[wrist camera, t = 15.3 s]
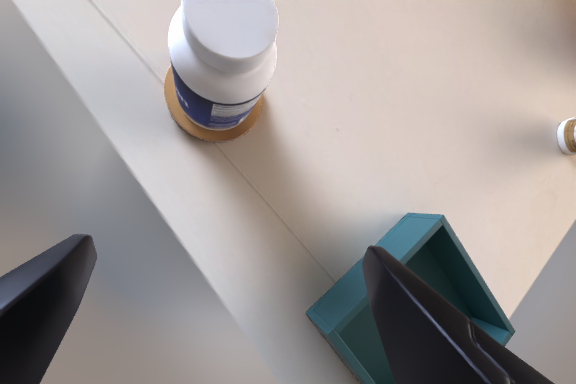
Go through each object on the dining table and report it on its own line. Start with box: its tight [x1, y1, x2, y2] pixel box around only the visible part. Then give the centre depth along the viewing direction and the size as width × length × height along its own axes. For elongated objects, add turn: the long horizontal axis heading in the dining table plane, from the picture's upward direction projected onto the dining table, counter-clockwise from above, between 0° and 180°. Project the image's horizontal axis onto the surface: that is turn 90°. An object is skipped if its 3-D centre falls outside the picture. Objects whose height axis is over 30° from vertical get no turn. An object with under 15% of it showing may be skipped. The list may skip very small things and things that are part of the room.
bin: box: [306, 213, 515, 384], centre depth 24 cm, size 13×13×4 cm
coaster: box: [164, 66, 262, 142], centre depth 21 cm, size 7×7×1 cm
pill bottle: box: [168, 0, 279, 130], centre depth 16 cm, size 5×5×10 cm
